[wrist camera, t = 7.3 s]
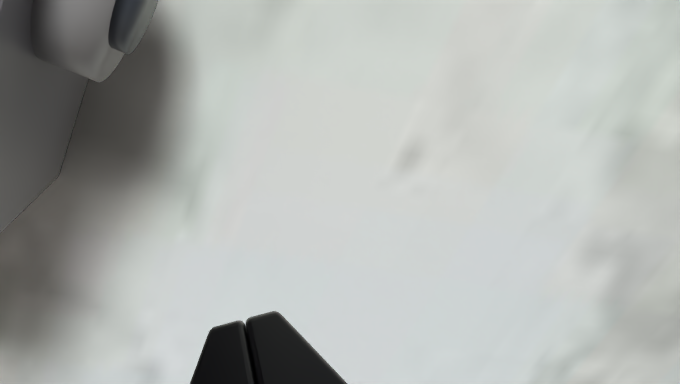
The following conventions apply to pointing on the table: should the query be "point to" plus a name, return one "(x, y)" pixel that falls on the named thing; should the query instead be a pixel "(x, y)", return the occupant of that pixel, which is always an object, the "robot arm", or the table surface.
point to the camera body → (53, 82)
